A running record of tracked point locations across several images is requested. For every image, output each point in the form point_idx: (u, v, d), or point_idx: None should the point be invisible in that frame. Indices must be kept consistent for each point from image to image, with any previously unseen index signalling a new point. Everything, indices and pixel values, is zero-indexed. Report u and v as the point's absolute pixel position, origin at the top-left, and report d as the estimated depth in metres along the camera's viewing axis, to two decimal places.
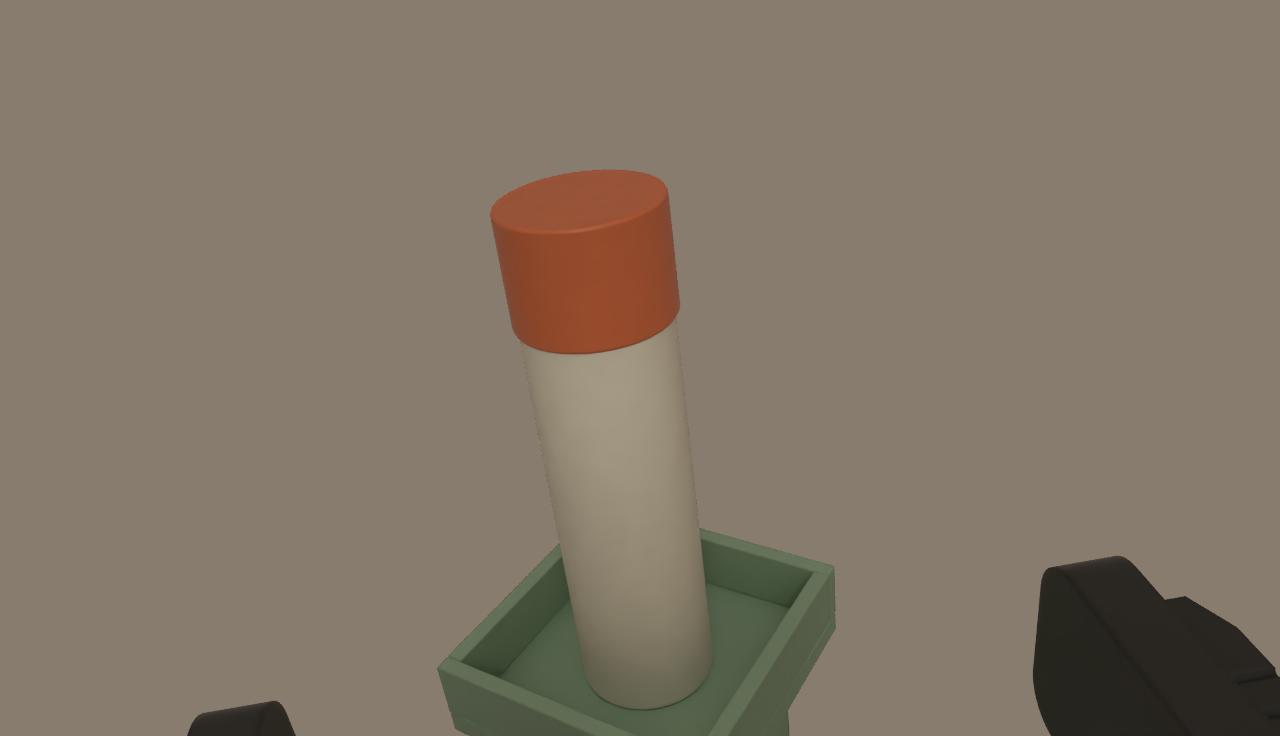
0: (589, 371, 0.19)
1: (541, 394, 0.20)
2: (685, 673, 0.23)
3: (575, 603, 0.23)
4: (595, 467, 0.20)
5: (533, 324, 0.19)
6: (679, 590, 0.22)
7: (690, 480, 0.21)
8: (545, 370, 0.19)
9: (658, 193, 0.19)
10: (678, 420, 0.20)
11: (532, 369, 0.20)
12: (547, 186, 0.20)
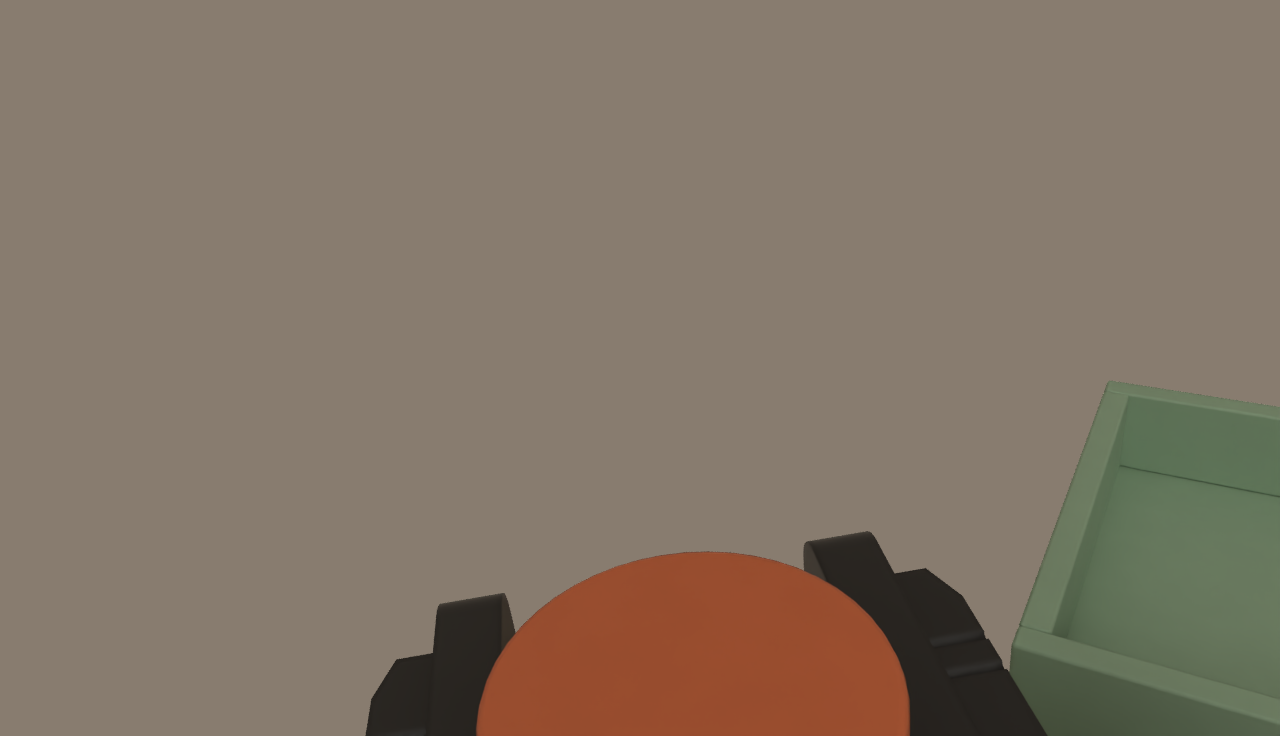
0: None
1: None
2: None
3: None
4: None
5: None
6: None
7: None
8: None
9: (889, 695, 0.08)
10: None
11: None
12: (606, 617, 0.09)
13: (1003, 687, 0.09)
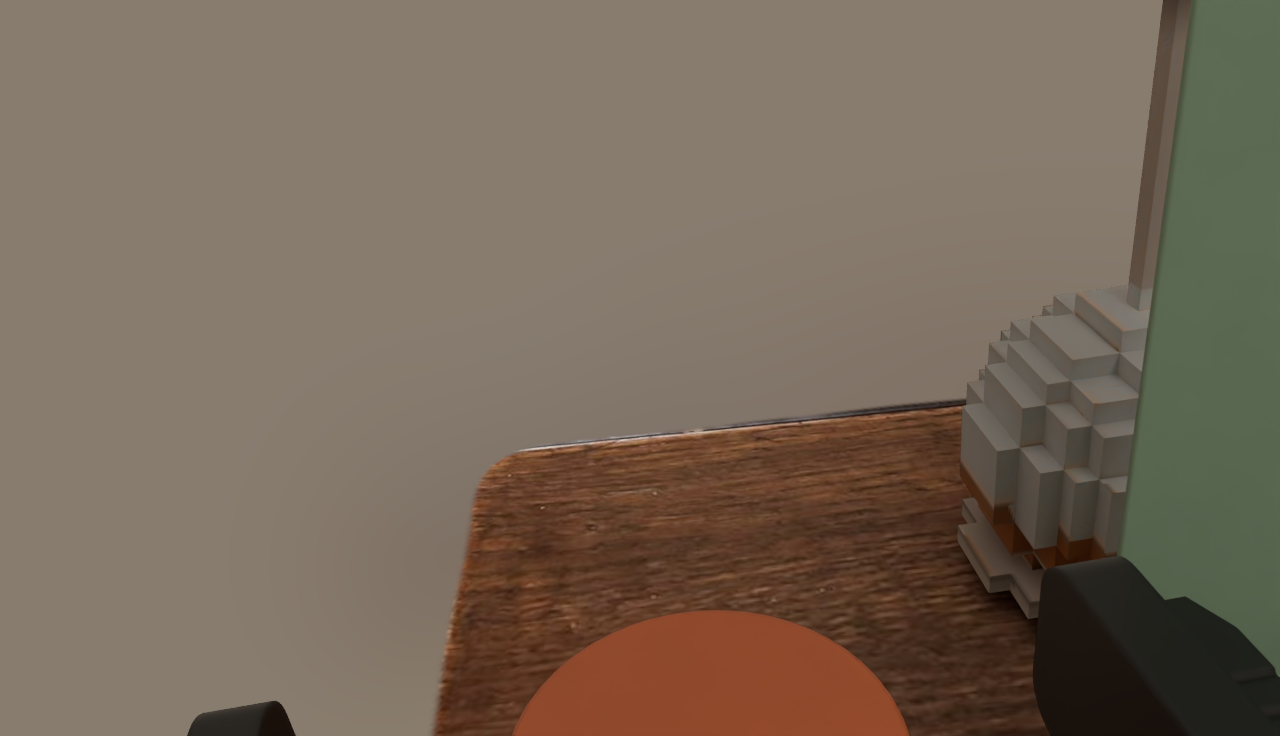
0: None
1: None
2: None
3: None
4: None
5: None
6: None
7: None
8: None
9: None
10: None
11: None
12: (624, 678, 0.09)
13: None
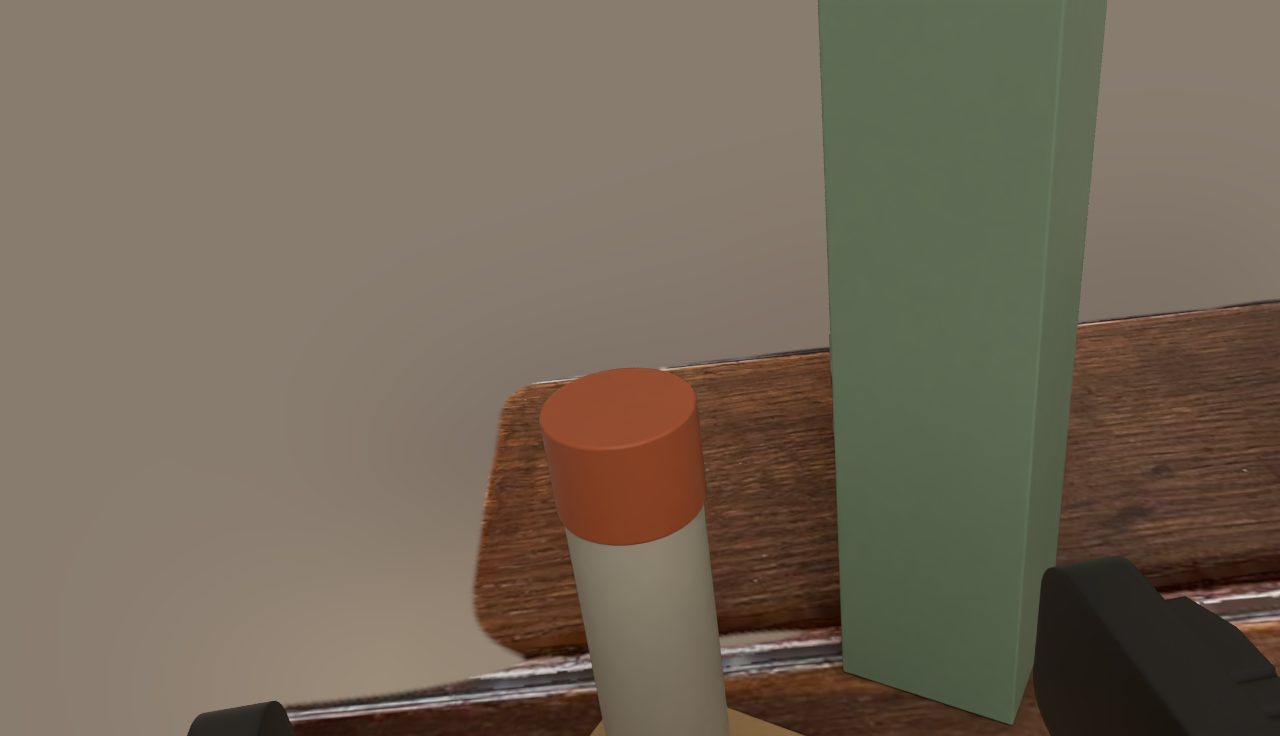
0: (628, 559, 0.21)
1: (584, 572, 0.22)
2: None
3: None
4: (632, 636, 0.22)
5: (578, 519, 0.21)
6: (706, 734, 0.24)
7: (715, 637, 0.24)
8: (588, 555, 0.22)
9: (688, 403, 0.21)
10: (705, 590, 0.23)
11: (576, 551, 0.22)
12: (588, 388, 0.22)
13: None
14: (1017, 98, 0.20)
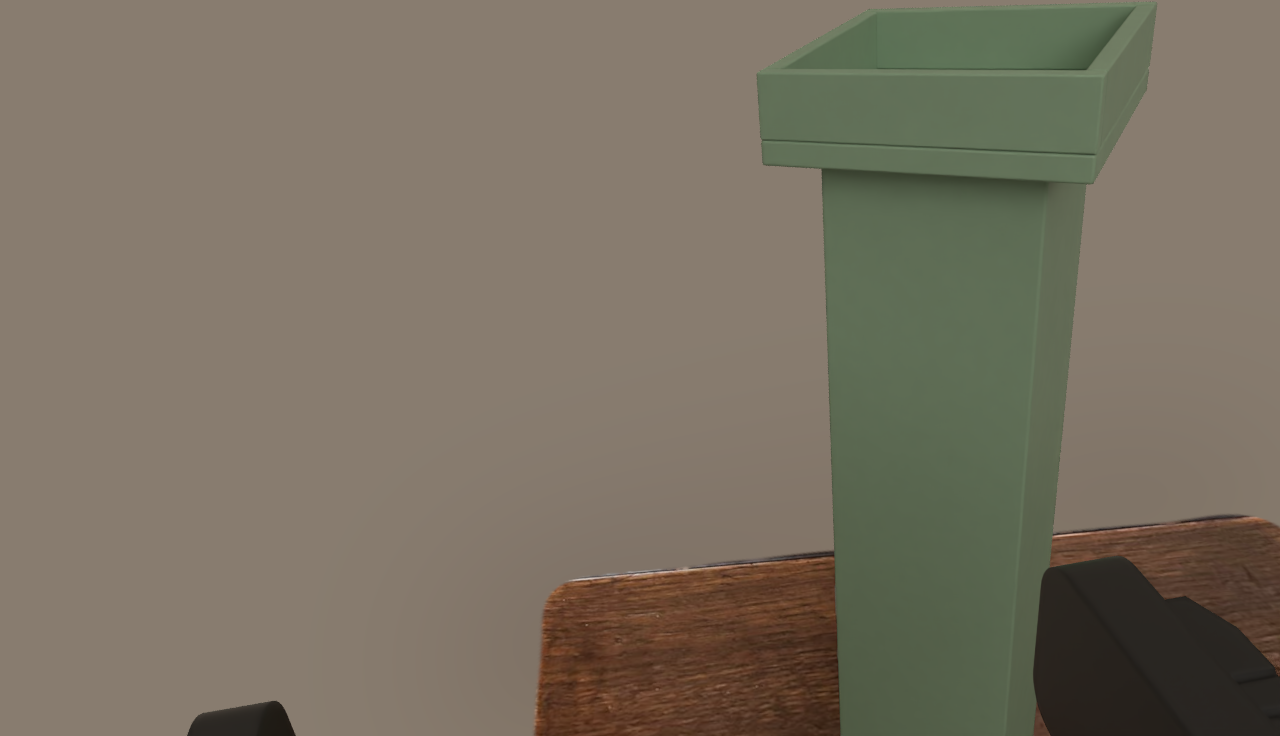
0: None
1: None
2: None
3: None
4: None
5: None
6: None
7: None
8: None
9: None
10: None
11: None
12: None
13: None
14: (985, 590, 0.26)
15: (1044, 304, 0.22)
